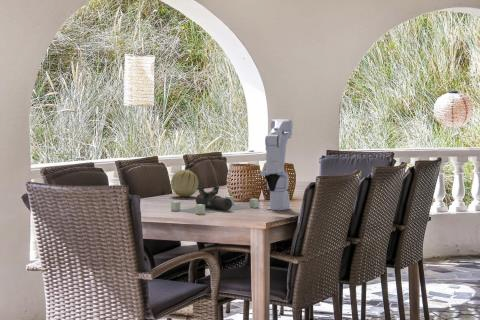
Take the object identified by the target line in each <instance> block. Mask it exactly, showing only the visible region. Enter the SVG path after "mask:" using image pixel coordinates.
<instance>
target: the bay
mask: <svg viewBox="0 0 480 320" xmlns="http://www.w3.org/2000/svg"><path fill="white" fill-rule="evenodd" d="M224 198H229V199H230V200H231V201H232V207H231V208H230V209H229V210H222V209H210V208H205V205H202V204H198V205H197V204H195V207H191V208H190V207H189V208H182V209H181V201H171V202H170V210H171V211H173V212H179V213H187V214H194V215H205V214H211V213H213V214H214V213H222V212H229V211H237V210H246V209H255V208H259V198H250V199H249V205H242V204H235V196H232V195H226V196H225V197H224Z"/></svg>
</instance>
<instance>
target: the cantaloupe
mask: <svg viewBox="0 0 480 320" xmlns="http://www.w3.org/2000/svg"><path fill="white" fill-rule="evenodd" d="M170 186H171V189H172V192H174V193H175V195H177V196H178V197H182V198H187V197H191V196H193V195H195V193H196V192H197V191H198V187H199V178H198V176H197V174H196V173H194V172H193V171H192V170H190V168H187V169H180V170H178V171H176V172H175V173H174V174H173V175H172V177H171V180H170Z"/></svg>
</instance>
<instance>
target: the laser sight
mask: <svg viewBox="0 0 480 320" xmlns="http://www.w3.org/2000/svg"><path fill="white" fill-rule="evenodd" d="M197 190H198V194H197V196H196V198H195V203H196V204H195V205H198V204H202V205H205V208H210V209H222V210H229V209H230V208H231V207H232V201H231V200H230V199H229V198H225V197H221V196H220V195H218V193H219V190H220V186H218V185H217V186H215V185H214V186H213V188H212V190H211V191H208V192H206V191H205V189H204V187H201V186H198V188H197Z"/></svg>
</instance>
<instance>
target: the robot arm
mask: <svg viewBox="0 0 480 320" xmlns="http://www.w3.org/2000/svg"><path fill="white" fill-rule="evenodd" d="M292 134H293V120H292V118H289V119H287V118H286V119H285V118H280V119H279V118H272V119H271V120H270V131H269V134H267V135H265V137H264V138H265V139H264V145H265V151H266V154H265V155H266V157H265V159H266V161H265V166H266V167H265V169H264V170H262V171H260V173H259V175H260V176H264V179H265V180H266V188H267V190H269V191H270V192H269V207H266V208H265V210H270V211H285V210H291V209H292V207H290V203H291V202H290V199H291V198H290V194H289V193H290V192H288V190H289V185H290V176H289V174H288V172H286V171H285V163H286V161H285V160H286V149H287V144H288V140H289V139H290V138H291V137H292Z"/></svg>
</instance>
